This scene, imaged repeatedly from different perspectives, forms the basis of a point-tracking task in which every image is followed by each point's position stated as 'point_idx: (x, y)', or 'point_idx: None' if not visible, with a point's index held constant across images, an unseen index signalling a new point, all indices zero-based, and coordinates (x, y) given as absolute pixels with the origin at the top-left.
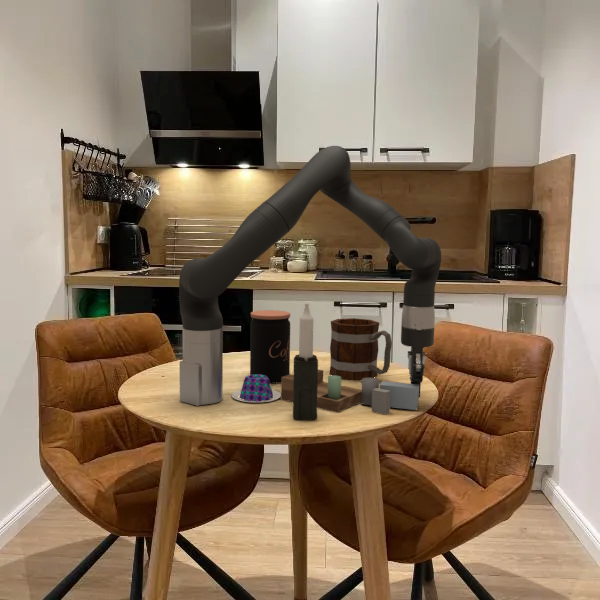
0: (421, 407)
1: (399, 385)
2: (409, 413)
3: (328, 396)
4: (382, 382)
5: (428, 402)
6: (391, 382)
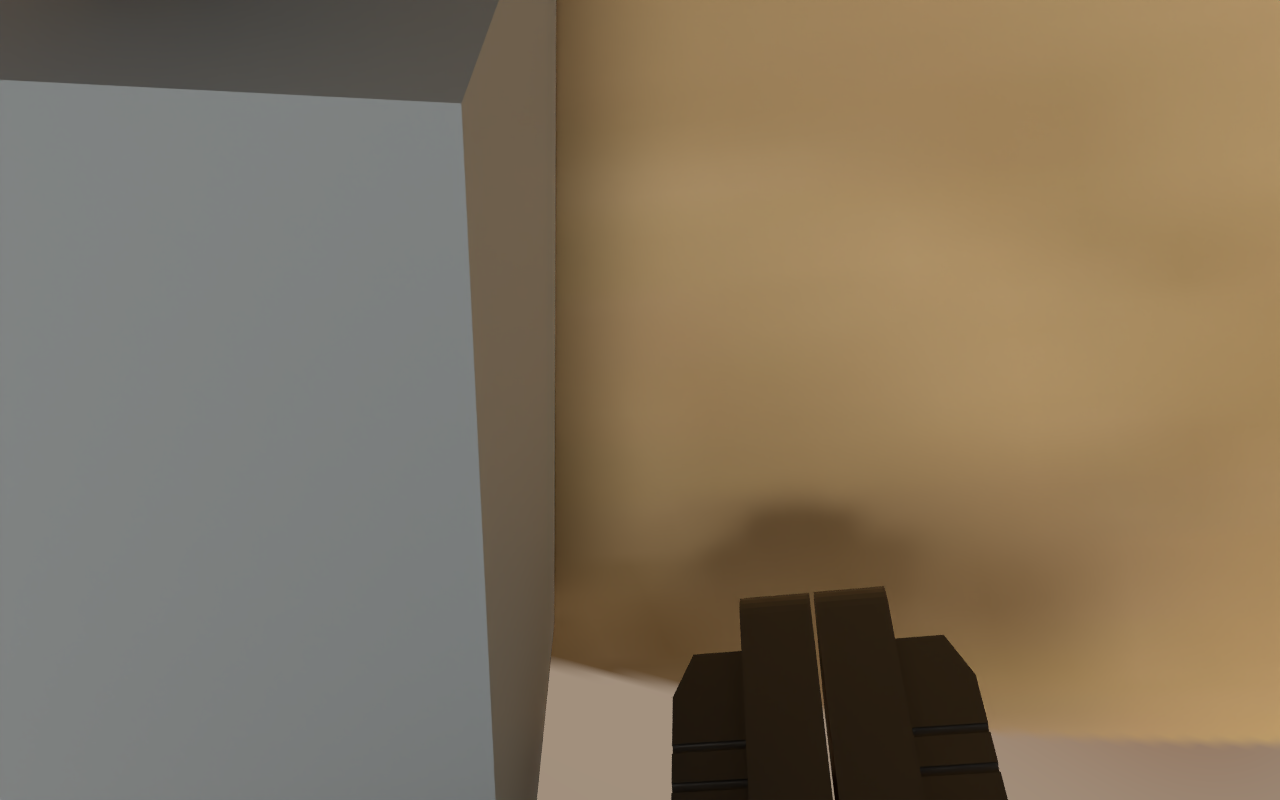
0: (588, 635)
1: (84, 764)
2: None
3: None
4: (130, 143)
5: None
6: (368, 519)
